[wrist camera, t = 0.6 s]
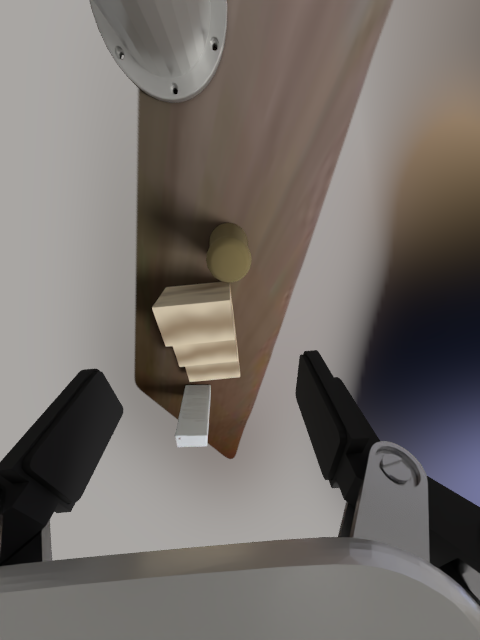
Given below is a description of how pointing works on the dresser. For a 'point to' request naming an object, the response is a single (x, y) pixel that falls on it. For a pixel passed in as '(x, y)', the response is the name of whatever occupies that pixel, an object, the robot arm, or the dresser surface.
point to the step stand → (200, 329)
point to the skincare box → (194, 416)
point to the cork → (228, 253)
